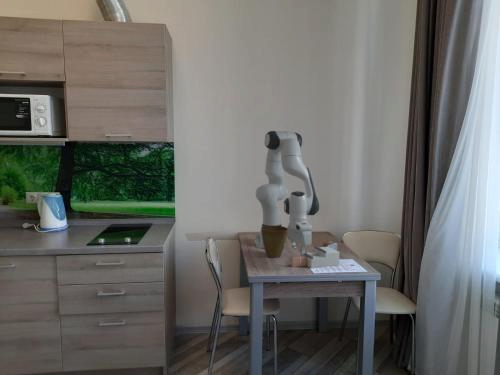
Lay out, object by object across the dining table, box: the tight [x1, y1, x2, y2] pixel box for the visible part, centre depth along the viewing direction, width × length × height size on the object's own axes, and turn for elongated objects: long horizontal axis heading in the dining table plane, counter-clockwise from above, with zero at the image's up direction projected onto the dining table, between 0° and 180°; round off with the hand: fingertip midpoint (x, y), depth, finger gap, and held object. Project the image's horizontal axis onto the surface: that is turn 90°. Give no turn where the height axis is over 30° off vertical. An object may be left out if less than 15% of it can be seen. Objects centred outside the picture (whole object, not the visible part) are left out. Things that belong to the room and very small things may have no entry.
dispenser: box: [300, 245, 341, 269], centre depth 175 cm, size 11×16×8 cm
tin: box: [321, 239, 339, 251], centre depth 189 cm, size 15×3×8 cm, turn 137°
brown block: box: [290, 255, 315, 268], centre depth 173 cm, size 2×13×4 cm, turn 108°
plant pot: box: [260, 225, 287, 259], centre depth 187 cm, size 15×15×16 cm
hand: (298, 251), depth 170 cm, fingers open, 8 cm apart
